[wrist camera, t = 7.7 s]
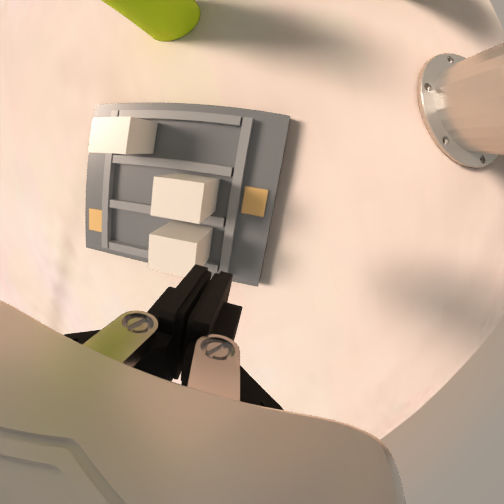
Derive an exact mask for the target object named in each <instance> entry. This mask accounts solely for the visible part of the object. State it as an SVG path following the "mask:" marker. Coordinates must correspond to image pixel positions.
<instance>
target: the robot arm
mask: <svg viewBox="0 0 504 504" xmlns="http://www.w3.org/2000/svg"><path fill="white" fill-rule="evenodd" d="M425 88H426V89H425ZM417 94H418V103H419V108H420V112H421V115H422V118H423V121H424V123H425V126H426V128H427V130H428V132H429V134H430V135H431V137H432V138H433V140H434V142H435V143H436V144H437V146H438V147H439V148H440V149H441V150H442V152H443V153H445V154H446V155H447V156H448V157H449V158H450V159H452V160H453V161H455V162H457V163H458V164H461V165H464V166H466V167H473V168H478V167H484V166H487V165H489V164H490V163H492V162H493V161H494V160H495V159H496V158H497V157H498V155H499V154H500V155H504V43H502V44H500V45H497V46H495V47H492V48H490V49H487V50H485V51H483V52H480V53H478V54H476V55H474V56H471V57H469V58H467V59H466V58H464V57H462V56H460V55H456V54H450V53H444V54H440V55H437V56H435V57H433V58H432V59H430V60H429V61H428V62H427V63H426V64H425V65H424V67H423V68H422V70H421V72H420V75H419V78H418V86H417ZM211 274H212V272H210V271H208V267H204V266H201V265H197V264H195V265H194V266H193V268H192V269H191V270H190V271H189V272H188V274H187V275H186V276H185V277H184V279H183V280H182V281H181V282H180V284H179V285H178V286H177V287H176V288H173V287H168V288H167V289H166V291H165V292H164V293H163V294H162V295H161V296H160V298H159V299H158V300H157V301H156V302H155V303H154V305H153V306H152V307H151V308H150V309H149V311H148V312H144V311H129V312H126V313H124V314H122V315H120V316H119V317H118V318H116V319H115V320H114V321H112V322H111V323H110V324H108V325H107V326H106V327H105V328H103V329H102V330H95V331H88V332H80V333H72V334H65V335H62V334H60V333H59V332H57V331H55V330H53V329H51V328H49V327H48V326H46V325H44V324H42V323H41V322H39V321H37V320H36V319H34V318H32V317H31V316H29V315H27V314H25V313H24V312H22V311H20V310H19V309H17V308H15V307H14V306H11V305H9V304H7V303H5V302H3V301H1V300H0V504H406V501H405V497H404V492H403V487H402V483H401V479H400V476H399V472H398V470H397V467H396V464H395V462H394V459H393V457H392V455H391V453H390V451H389V450H388V448H387V447H386V446H385V444H384V443H383V442H382V441H380V440H379V439H378V438H377V437H375V436H373V435H372V434H370V433H368V432H366V431H364V430H361V429H359V428H356V427H354V426H351V425H349V424H345V423H341V422H338V421H335V420H331V419H326V418H321V417H317V416H311V415H305V414H300V413H294V412H289V411H284V410H283V409H282V407H281V406H280V405H279V404H278V403H277V402H276V401H275V400H274V399H273V398H272V397H271V396H270V395H269V394H268V393H267V392H266V391H265V390H264V389H263V388H262V387H261V386H260V385H259V384H258V383H257V382H256V381H255V380H254V379H253V378H252V377H251V376H250V375H249V374H248V373H247V372H246V371H245V370H244V369H243V368H242V367H241V366H240V350H239V347H238V345H237V344H236V343H235V342H234V338H235V335H236V331H237V327H238V323H239V319H240V315H241V311H242V306H238V305H234V304H230V303H227V301H228V296H229V292H230V287H231V282H232V278H233V274H231V273H227V272H223V271H220V273H219V274H218V273H214V275H213V277H212V279H211ZM181 371H182V373H181ZM180 373H181V381H182V385H180V384H177V383H174V382H172V379H173V378H174V379H178V378H179V375H180Z"/></svg>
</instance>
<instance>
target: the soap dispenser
mask: <svg viewBox="0 0 504 504" xmlns="http://www.w3.org/2000/svg"><path fill="white" fill-rule="evenodd" d="M102 1H103V2H105V3H106V4H108V5H109V6H111V7H112V8H114V9H115V10H116V11H118V12H119V13H121V14H122V15H123V16H125V17H126V18H128V19H129V20H130V21H132V22H133V23H134V24H136V25H137V26H138V27H140V28H141V29H142V30H144V31H145V32H146V33H147V34H149V35H150V36H151V37H153V38H154V39H156V40H159V41H172V40H175V39H178V38H180V37H182V36H184V35H186V34H187V33H189V32H190V31H191V30H192V29H193V28H194V27H195V25H196V24H197V22H198V20H199V18H200V9H199V7H198V5H197V3H196V2H195V0H102Z"/></svg>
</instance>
